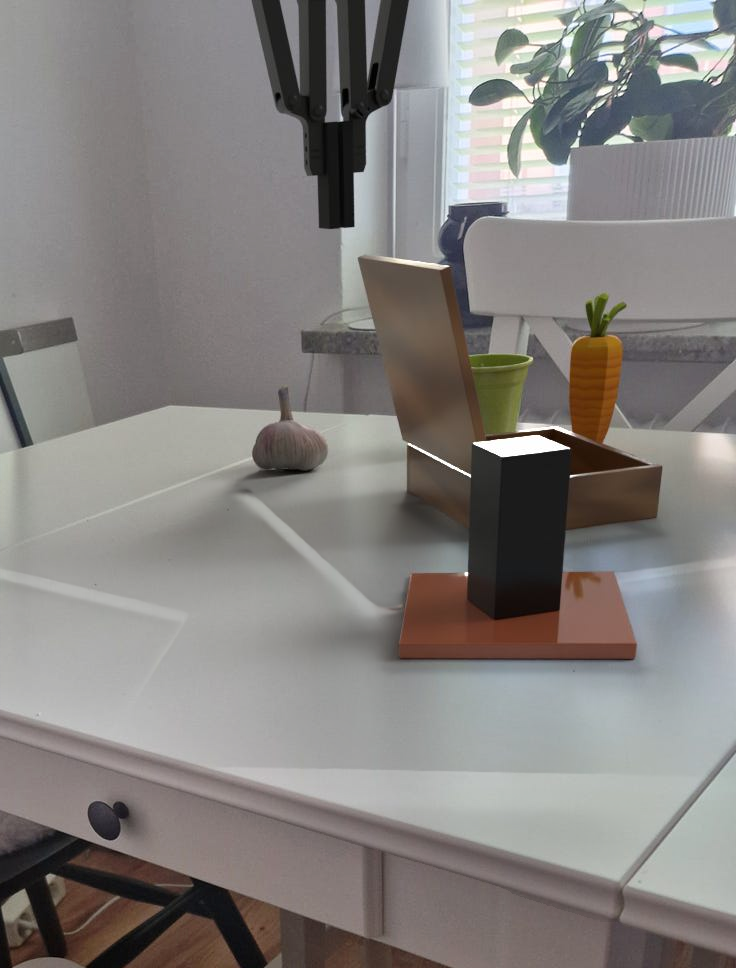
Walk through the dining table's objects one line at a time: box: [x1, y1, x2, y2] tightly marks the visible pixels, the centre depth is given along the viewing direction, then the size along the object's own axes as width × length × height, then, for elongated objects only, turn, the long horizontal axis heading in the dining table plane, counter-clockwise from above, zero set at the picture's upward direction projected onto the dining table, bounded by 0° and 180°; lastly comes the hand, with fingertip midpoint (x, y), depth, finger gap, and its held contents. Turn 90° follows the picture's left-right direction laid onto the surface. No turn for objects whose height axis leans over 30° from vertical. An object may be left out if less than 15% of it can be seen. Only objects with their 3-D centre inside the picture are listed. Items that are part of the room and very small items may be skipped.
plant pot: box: [469, 353, 534, 435], centre depth 117 cm, size 9×9×9 cm
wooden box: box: [406, 425, 663, 531], centre depth 97 cm, size 14×18×5 cm
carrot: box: [568, 292, 627, 444], centre depth 108 cm, size 5×5×15 cm
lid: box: [357, 253, 487, 475], centre depth 91 cm, size 15×18×1 cm
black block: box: [467, 435, 572, 620], centre depth 73 cm, size 4×4×10 cm
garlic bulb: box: [251, 384, 329, 471], centre depth 116 cm, size 8×7×8 cm
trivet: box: [398, 570, 638, 660], centre depth 76 cm, size 14×14×1 cm
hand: (336, 227), depth 84 cm, fingers closed
